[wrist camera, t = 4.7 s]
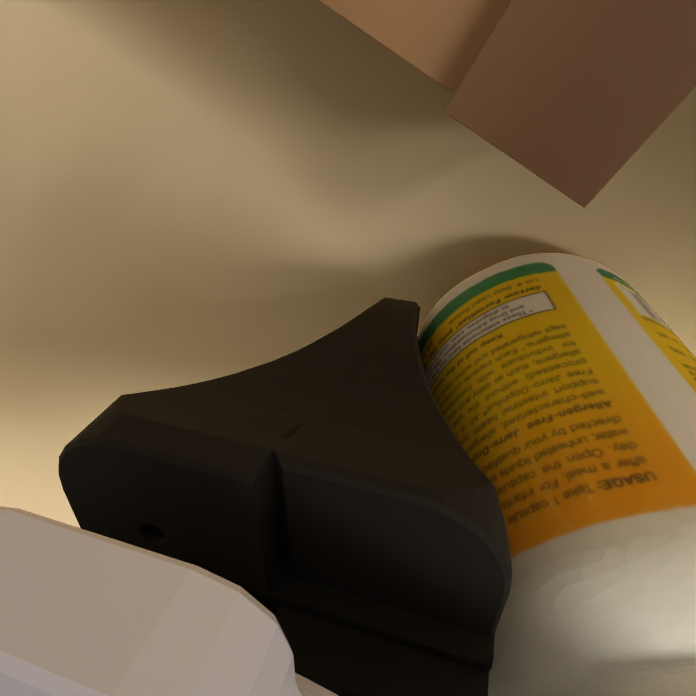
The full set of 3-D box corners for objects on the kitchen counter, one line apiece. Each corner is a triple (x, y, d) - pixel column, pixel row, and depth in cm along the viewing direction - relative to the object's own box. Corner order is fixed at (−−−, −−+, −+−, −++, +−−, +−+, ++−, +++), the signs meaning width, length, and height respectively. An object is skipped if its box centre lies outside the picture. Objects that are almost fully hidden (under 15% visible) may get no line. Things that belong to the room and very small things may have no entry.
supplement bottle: (678, 259, 11) (1528, 985, 3) (578, 429, 14) (862, 988, 6) (435, 230, 10) (687, 976, 3) (391, 412, 13) (444, 985, 6)
